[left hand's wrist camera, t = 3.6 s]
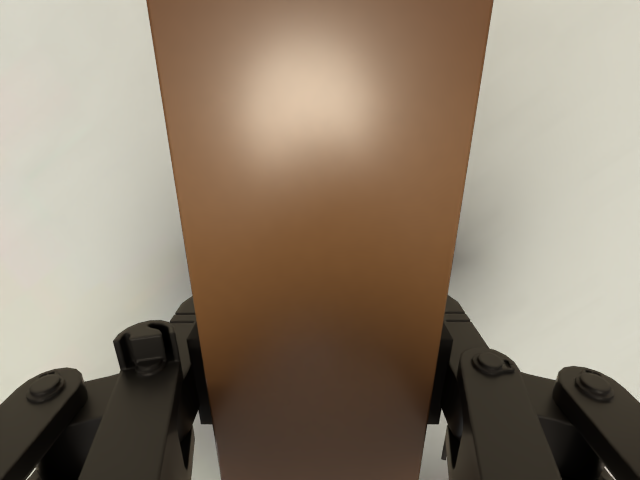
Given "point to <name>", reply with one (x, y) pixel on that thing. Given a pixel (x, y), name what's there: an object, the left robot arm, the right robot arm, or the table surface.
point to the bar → (319, 217)
